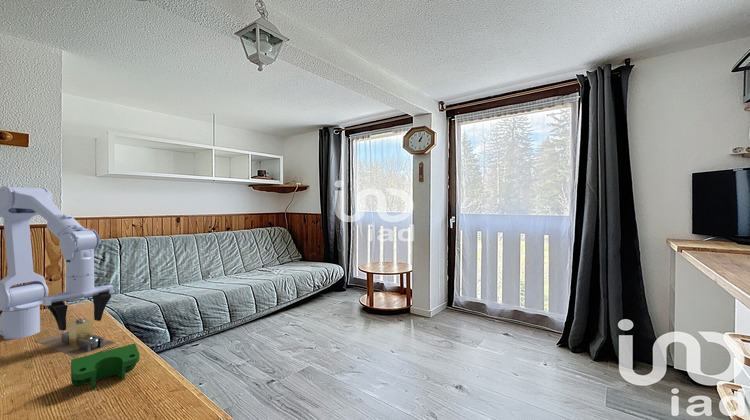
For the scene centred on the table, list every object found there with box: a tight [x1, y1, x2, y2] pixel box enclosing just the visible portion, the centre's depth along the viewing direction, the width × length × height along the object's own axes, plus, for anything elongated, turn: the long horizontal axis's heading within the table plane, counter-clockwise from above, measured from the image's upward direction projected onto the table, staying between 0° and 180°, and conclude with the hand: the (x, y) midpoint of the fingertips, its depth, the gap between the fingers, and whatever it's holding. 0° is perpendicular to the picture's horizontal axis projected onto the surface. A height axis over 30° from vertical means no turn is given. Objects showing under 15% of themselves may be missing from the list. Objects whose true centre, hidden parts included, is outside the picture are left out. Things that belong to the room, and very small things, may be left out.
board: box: [35, 333, 118, 358], centre depth 89 cm, size 22×9×1 cm, turn 65°
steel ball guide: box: [60, 330, 105, 353], centre depth 87 cm, size 14×3×2 cm, turn 65°
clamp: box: [70, 342, 141, 390], centre depth 71 cm, size 12×6×9 cm, turn 131°
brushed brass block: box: [68, 318, 94, 348], centre depth 87 cm, size 4×4×7 cm
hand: (80, 324), depth 87 cm, fingers open, 7 cm apart
